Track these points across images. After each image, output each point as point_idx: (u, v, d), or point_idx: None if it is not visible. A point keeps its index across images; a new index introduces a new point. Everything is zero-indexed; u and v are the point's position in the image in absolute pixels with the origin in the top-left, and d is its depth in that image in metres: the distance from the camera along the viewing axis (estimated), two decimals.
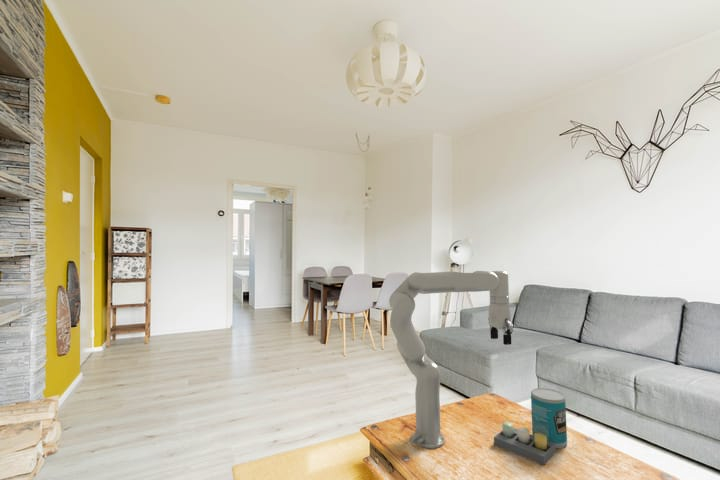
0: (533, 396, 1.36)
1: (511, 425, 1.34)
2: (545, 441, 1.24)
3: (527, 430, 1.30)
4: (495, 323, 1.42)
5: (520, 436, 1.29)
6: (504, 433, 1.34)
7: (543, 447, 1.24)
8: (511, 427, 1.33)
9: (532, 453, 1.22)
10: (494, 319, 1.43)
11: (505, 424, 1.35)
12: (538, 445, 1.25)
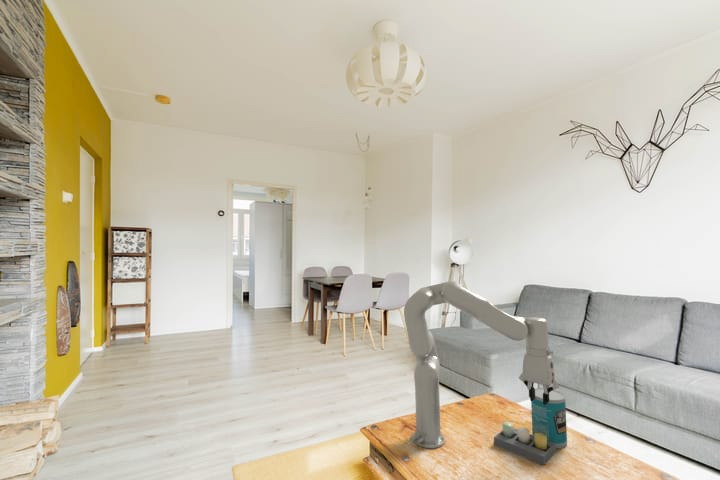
0: None
1: (511, 425, 1.34)
2: (545, 441, 1.24)
3: (527, 430, 1.30)
4: None
5: (520, 436, 1.29)
6: (504, 433, 1.34)
7: (543, 447, 1.24)
8: (511, 427, 1.33)
9: (532, 453, 1.22)
10: None
11: (505, 424, 1.35)
12: (538, 445, 1.25)
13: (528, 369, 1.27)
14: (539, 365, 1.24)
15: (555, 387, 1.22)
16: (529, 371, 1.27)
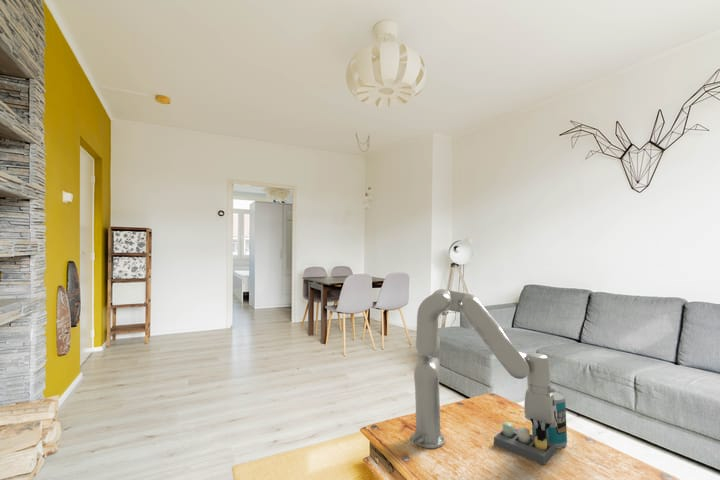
0: None
1: (511, 425, 1.34)
2: (545, 444, 1.24)
3: (527, 430, 1.30)
4: None
5: (520, 436, 1.29)
6: (504, 433, 1.34)
7: (543, 450, 1.24)
8: (511, 427, 1.33)
9: (532, 453, 1.22)
10: None
11: (505, 424, 1.35)
12: (538, 448, 1.24)
13: (530, 406, 1.27)
14: (541, 403, 1.24)
15: (552, 425, 1.23)
16: (531, 408, 1.26)
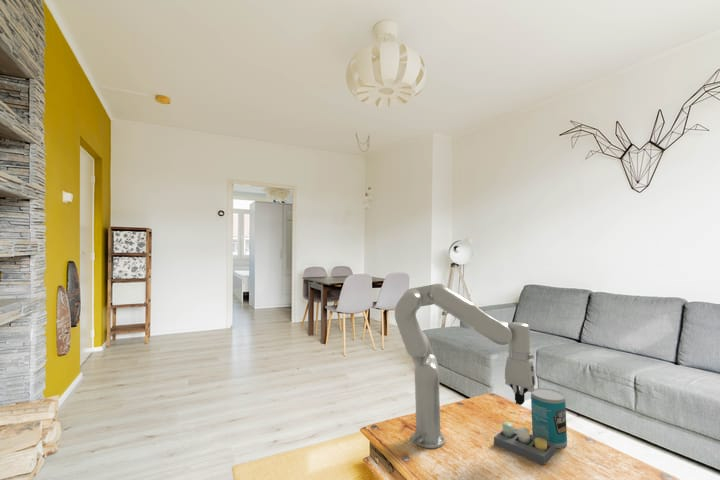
0: (533, 396, 1.36)
1: (511, 425, 1.34)
2: (545, 446, 1.24)
3: (527, 430, 1.30)
4: None
5: (520, 436, 1.29)
6: (504, 433, 1.34)
7: None
8: (511, 427, 1.33)
9: (532, 453, 1.22)
10: None
11: (505, 424, 1.35)
12: None
13: (510, 372, 1.32)
14: (520, 368, 1.29)
15: (530, 390, 1.28)
16: (511, 374, 1.32)
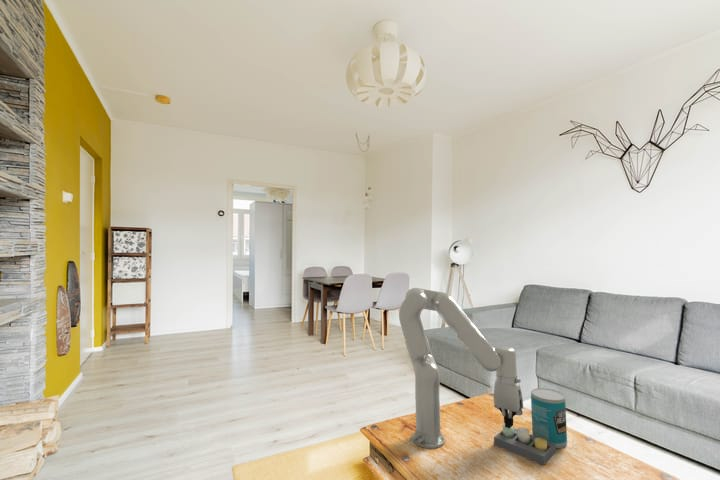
0: (533, 396, 1.36)
1: (511, 427, 1.34)
2: (545, 446, 1.24)
3: (527, 430, 1.30)
4: None
5: (520, 436, 1.29)
6: (504, 435, 1.34)
7: None
8: (511, 429, 1.33)
9: (532, 453, 1.22)
10: None
11: None
12: None
13: (498, 396, 1.35)
14: (508, 392, 1.33)
15: (518, 413, 1.31)
16: (499, 398, 1.35)
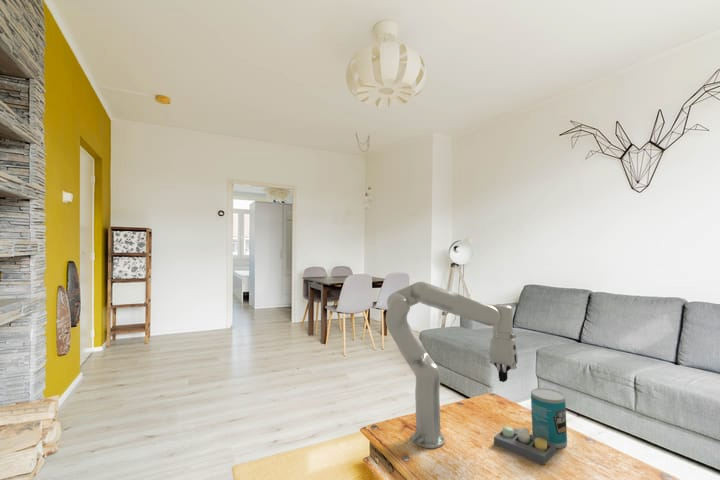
0: (533, 396, 1.36)
1: (511, 429, 1.34)
2: (545, 446, 1.24)
3: (527, 430, 1.30)
4: None
5: (520, 436, 1.29)
6: None
7: None
8: (511, 431, 1.33)
9: (532, 453, 1.22)
10: None
11: (505, 428, 1.35)
12: None
13: (494, 351, 1.40)
14: (503, 347, 1.37)
15: (512, 367, 1.36)
16: (495, 353, 1.40)
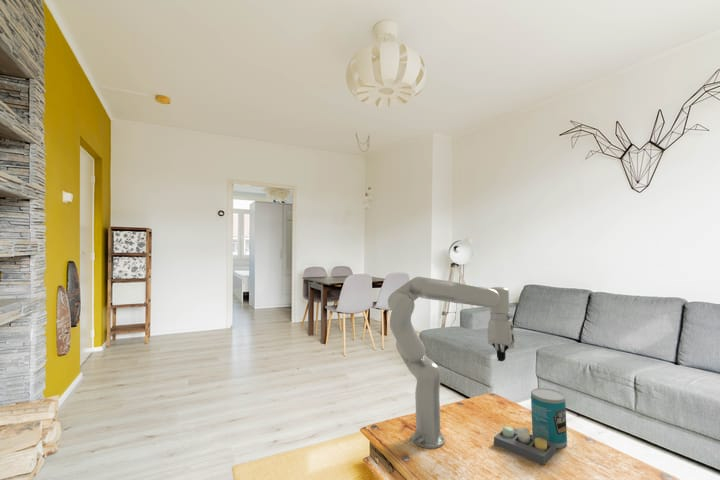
0: (533, 396, 1.36)
1: (511, 429, 1.34)
2: (545, 446, 1.24)
3: (527, 430, 1.30)
4: None
5: (520, 436, 1.29)
6: None
7: None
8: (511, 431, 1.33)
9: (532, 453, 1.22)
10: None
11: (505, 428, 1.35)
12: None
13: (492, 332, 1.45)
14: (501, 328, 1.42)
15: (510, 347, 1.41)
16: (493, 334, 1.45)
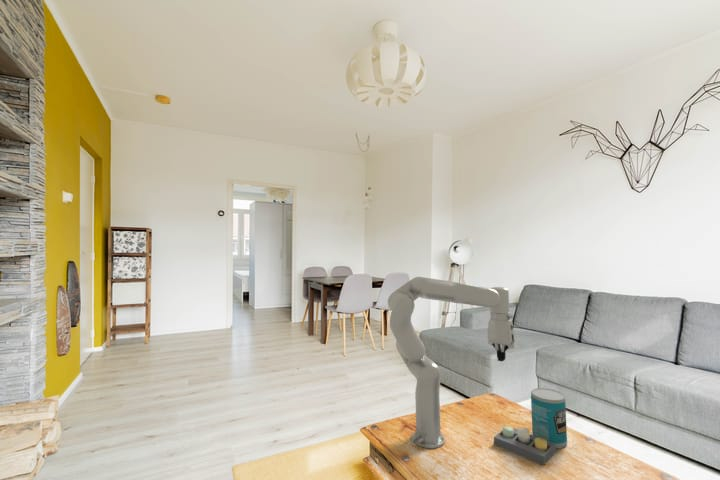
0: (533, 396, 1.36)
1: (511, 429, 1.34)
2: (545, 446, 1.24)
3: (527, 430, 1.30)
4: None
5: (520, 436, 1.29)
6: None
7: None
8: (511, 431, 1.33)
9: (532, 453, 1.22)
10: None
11: (505, 428, 1.35)
12: None
13: (492, 332, 1.45)
14: (501, 328, 1.42)
15: (510, 347, 1.41)
16: (493, 334, 1.45)
